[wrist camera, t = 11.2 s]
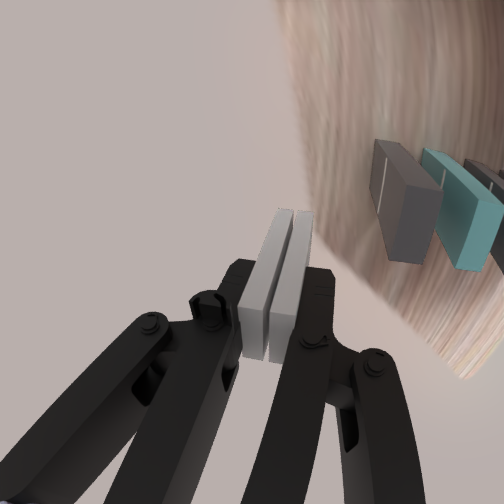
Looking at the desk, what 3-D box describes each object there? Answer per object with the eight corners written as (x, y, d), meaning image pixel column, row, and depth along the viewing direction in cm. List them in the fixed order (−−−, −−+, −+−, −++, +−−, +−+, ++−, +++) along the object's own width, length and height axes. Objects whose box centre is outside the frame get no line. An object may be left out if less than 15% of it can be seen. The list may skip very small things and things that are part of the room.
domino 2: (423, 147, 21) (478, 199, 12) (445, 153, 21) (506, 207, 11) (414, 195, 24) (453, 268, 15) (435, 198, 24) (480, 272, 14)
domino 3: (465, 158, 20) (529, 214, 11) (483, 164, 20) (548, 221, 10) (454, 203, 23) (503, 275, 14) (472, 207, 22) (523, 278, 13)
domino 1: (374, 139, 22) (406, 184, 13) (399, 143, 22) (445, 192, 12) (368, 187, 25) (387, 260, 16) (392, 191, 25) (423, 264, 15)
